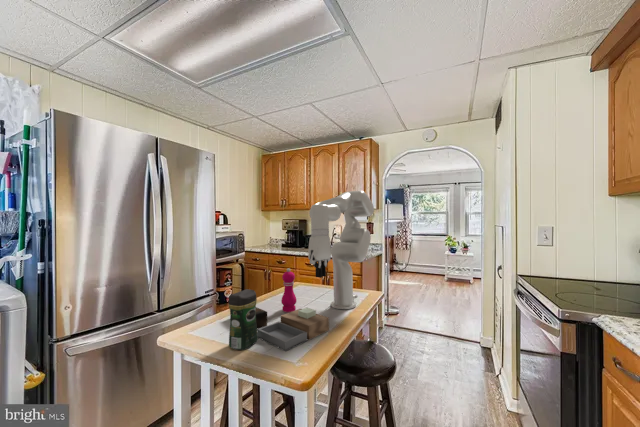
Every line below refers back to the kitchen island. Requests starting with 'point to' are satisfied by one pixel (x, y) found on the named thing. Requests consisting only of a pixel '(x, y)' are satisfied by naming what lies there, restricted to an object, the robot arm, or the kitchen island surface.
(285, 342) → the tray
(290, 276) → the pepper mill
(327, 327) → the board
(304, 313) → the tile
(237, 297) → the coffee jar
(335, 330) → the kitchen island surface
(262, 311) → the beverage carton
